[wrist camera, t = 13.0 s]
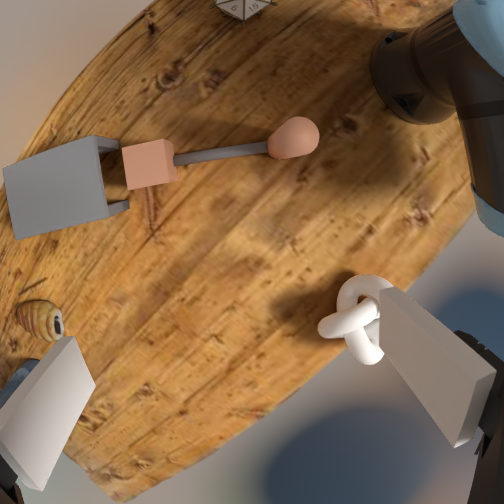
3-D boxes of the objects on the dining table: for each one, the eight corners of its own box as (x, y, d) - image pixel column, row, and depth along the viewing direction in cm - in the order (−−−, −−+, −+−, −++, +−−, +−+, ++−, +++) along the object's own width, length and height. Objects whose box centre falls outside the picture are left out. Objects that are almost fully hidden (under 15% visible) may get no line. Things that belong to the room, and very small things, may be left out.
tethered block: (290, 125, 39) (315, 107, 27) (295, 163, 41) (322, 161, 28) (136, 150, 39) (97, 144, 26) (142, 187, 40) (105, 195, 28)
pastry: (25, 329, 45) (14, 339, 41) (18, 293, 43) (6, 301, 39) (67, 338, 45) (58, 349, 42) (62, 300, 44) (51, 310, 40)
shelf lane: (118, 140, 38) (92, 134, 30) (129, 208, 41) (106, 218, 33) (36, 166, 38) (2, 168, 30) (47, 228, 41) (15, 240, 32)
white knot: (400, 311, 47) (427, 337, 39) (340, 357, 49) (358, 390, 40) (368, 258, 45) (396, 278, 36) (302, 308, 46) (316, 339, 37)
